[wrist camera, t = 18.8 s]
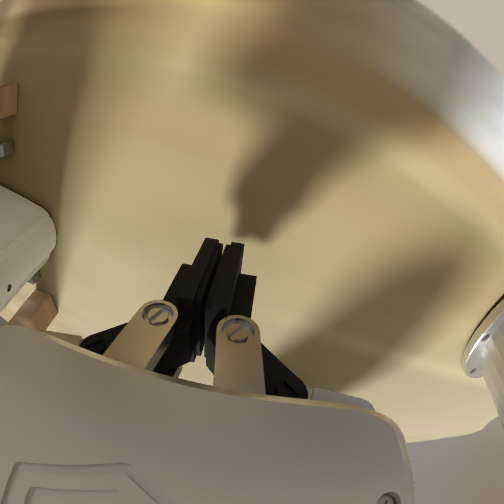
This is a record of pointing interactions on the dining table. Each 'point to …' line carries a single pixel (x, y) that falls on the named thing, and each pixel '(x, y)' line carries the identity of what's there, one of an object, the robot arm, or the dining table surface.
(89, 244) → the dining table surface
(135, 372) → the robot arm
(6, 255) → the photo printer
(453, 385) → the dining table surface
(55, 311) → the wooden display stand
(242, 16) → the dining table surface
